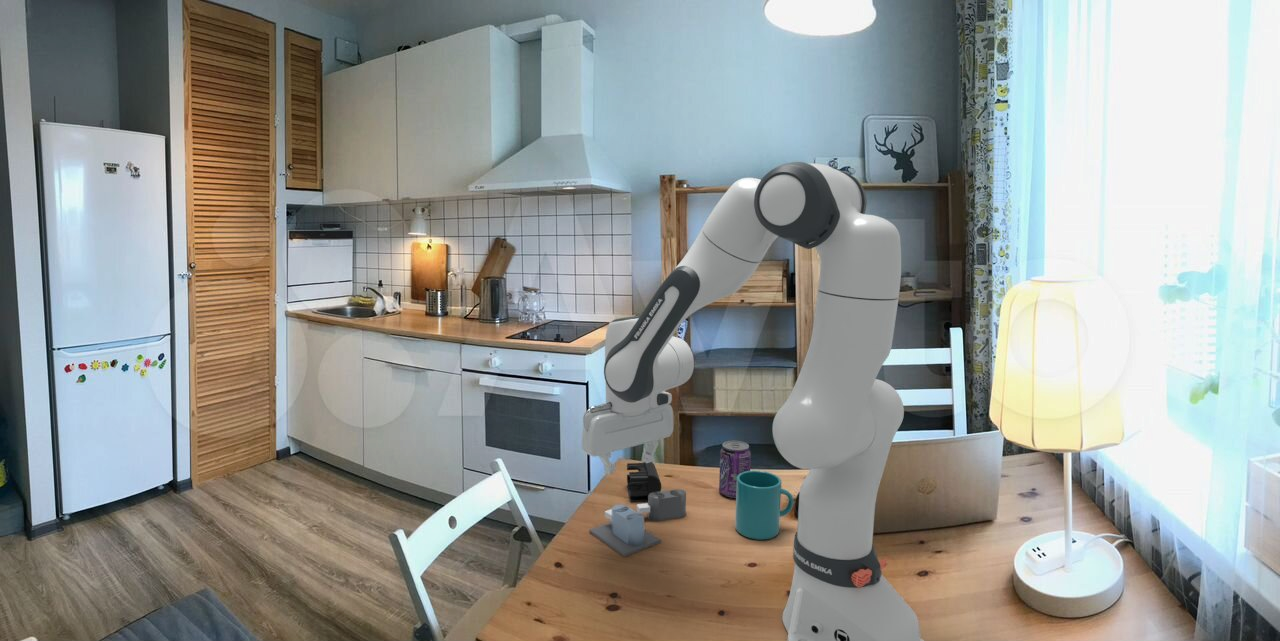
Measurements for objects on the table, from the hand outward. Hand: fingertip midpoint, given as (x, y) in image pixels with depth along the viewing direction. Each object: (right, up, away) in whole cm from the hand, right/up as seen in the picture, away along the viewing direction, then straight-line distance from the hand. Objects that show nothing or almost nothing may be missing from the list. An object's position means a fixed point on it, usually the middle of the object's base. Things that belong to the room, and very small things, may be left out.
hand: (629, 467), depth 121 cm
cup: (+28, -15, +7) cm, 32 cm away
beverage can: (+24, -12, +24) cm, 36 cm away
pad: (-1, -15, +3) cm, 15 cm away
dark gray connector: (+7, -14, +13) cm, 20 cm away
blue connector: (-1, -14, +3) cm, 15 cm away
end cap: (+3, -12, +24) cm, 27 cm away
